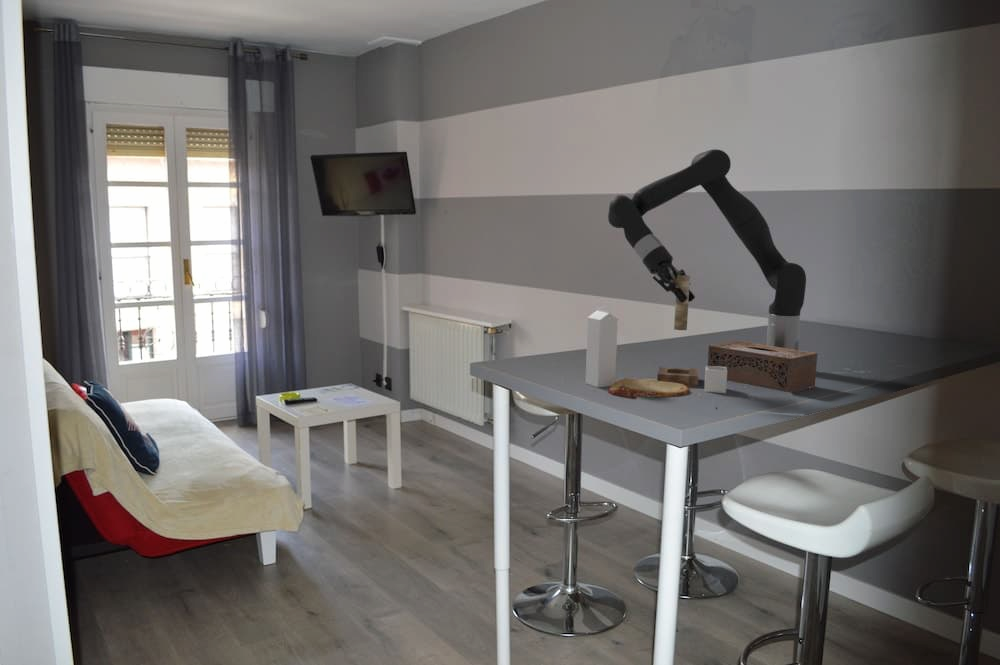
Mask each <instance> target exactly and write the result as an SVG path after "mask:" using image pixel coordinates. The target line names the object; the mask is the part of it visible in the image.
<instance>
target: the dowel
mask: <svg viewBox="0 0 1000 665" xmlns="http://www.w3.org/2000/svg"><path fill="white" fill-rule="evenodd" d="M690 277H691V276H690V275H677V281H676V282H677V284H678V286H679V288H681V290H682V291H683V292H684V294H685V295H686V296H687V300H686V301H685V302H684V303H681V302H680V301H679V300H678V298H677V297H676V296H675V303H674V304H675V305H674V306H675V307H674V324H673V330H677V331H687V330H688V314H689V302H688V300H689V289H690V285H689V283H690V284H691V282H690V281H691V280H690V279H691V278H690Z"/></svg>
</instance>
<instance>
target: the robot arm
mask: <svg viewBox="0 0 1000 665" xmlns="http://www.w3.org/2000/svg"><path fill="white" fill-rule="evenodd" d="M731 163H732V162H731V158H730V156H729V155H728V154H727V153H726V152H725V151H724V150H721V149H715V148H714V149H710V150H709V149H708V150H706V151H702V152H701V153H699V154H696V155H695V156H694V157H693V158H692V160H691V162H690V165H689V166H687V167H685V168H683V169H680V170H678V171H677V172H675V173H672V174H670V175H668V176H667V175H666V176H664V177H662V178H659V179H657V180H655V181H653V182H651V183H649V184H647V185H645V186H643V187H641V188H639V189H638V190H637V191H635V192H634V195H633V196H632V197H631V198H630V197H628V196H627V195H621V194H619V195H616V196H615V197H613V198H612V199H611V201H610V202H609V205H608V206H609V207H608V215H607V219H608V222H609V225H611V226H612V227H613V228H616V229H623V232H624V237H625V239H626V240H627V242H628V243H629V245H630V246H631V247H632V249H633V250H634V252H635V253H636V255H637V258H639V260H640V261H641V262H642V264H643V265H644V266H645V268H646V269H647V271H648V272H649V273H650V274H651V275H653V276H652V279H653V280H654V281H655V282H656V283H658V284H659V285H660V287H662V289H663V290H664V291H666V292H667V293H669V292H670V293H672V294H674V296H675V298H676V297H677V298H678V300H679V301H680V302H681V303H684V302H685V301H686V300H687V296H686V295H685V294H684V292H683V291H682V290H681V288H679V286H678V284H677V275H686V272H685V271H684V269H680V270H678V268H676V266H674V265H673V264H672V263H673V260H674V259H673V258H674V257H673V256H672V254H671V253H670V252H669V251H668V249H667V248H666V246H664V244H663V243H662V241H661V240H660V239H659V237H657V236H656V235H655V234H654V233H653V231H652V230H651V229H650V228H649V227H648V225H647V224H646V222H645V221H644V218H643V216H644V215H645V214H647V213H648V212H650V211H652V210H653V209H656V208H658V207H660V206H662V205H663V204H665V203H667V202H669V201H671V200H673V199H675V198H677V197H678V196H681V195H682V194H684V193H686V192H688V191H690V190H691V189H695V188H696V187H699V186H701V187H702V188H703V189H704V191H705V192H706V194H707V195H709V197H710V198H711V200H713V201H714V203H715V204H716V206H717V208H718V209H719V211H720V212H721V214H722V215H723V216H724V218H725V219H726V221H727V222H728V224H729V226H730V228H731V229H732V230H733V231H734V232H735V234H736V236H737V237H738V239H739V240H740V241H741V242H742V244H743V245H744V246H745V248H746V249H747V250H748V252H749V254H750V255H751V256H752V257H753V258H754V260H755V261H756V262H757V265H758V267H759V268H760V271H761V272H762V274H763V276H764V277H765V280H766V282H767V283H768V285H769V286H770V287H771V288H772V289H773V290H775V296H774V300H773V301H772V303H770V304H769V307H768V315H767V316H768V317H767V318H768V319H767V332H766V344H765V345H768V346H774V347H781V348H788V349H794V350H799V347H800V340H799V337H800V336H799V333H800V321H801V320H800V319H801V310H802V308H803V307H804V303H805V295H806V294H805V293H806V286H807V276H806V271H805V269H804V268H803V267H802V266H801V265H800V264H797V263H795V262H794V263H793V262H788V261H787V259H785V258H784V256H783V255H782V254H781V253H780V251H779V250H778V248H777V246H776V245H775V243H774V240H773V237H772V234H771V231H770V228H769V227H770V226H769V224H768V222H767V220H766V219H765V217H764V216H763V215H762V213H761V211H760V210H759V208H758V207H757V206H756V205H755V204H754V203H753V201H751V200H750V199H748V198H747V197H746V196H745V195H744V194H742V193H740V192H739V190H737V189H736V188H735V187H734V186H733V185H732V184H731V183H730V181H729V180H728V178H727V175H728V174H729V171H730V169H731ZM686 276H687V275H686ZM690 285H691V282H690V283H689V286H690ZM695 296H696V295H694V293H693V292H692V291H691V289H690V288H689V300H688V303H691V302H692V301H694V299H695Z"/></svg>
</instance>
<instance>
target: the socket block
mask: <svg viewBox="0 0 1000 665" xmlns="http://www.w3.org/2000/svg"><path fill="white" fill-rule="evenodd" d="M656 381H665V382H672V383H679V384H683V385H685V386H687V387H688V388H689V387H690V388H691V387H692V388H698V387H699V369H698V368H690V367H689V368H686V367H674V366H673V367H672V366H671V367H669V366H659V367H658V370H657V380H656Z"/></svg>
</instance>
